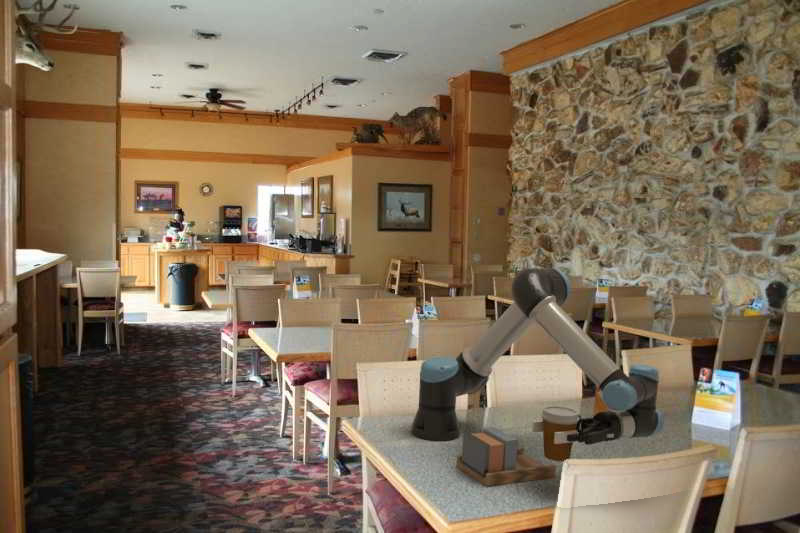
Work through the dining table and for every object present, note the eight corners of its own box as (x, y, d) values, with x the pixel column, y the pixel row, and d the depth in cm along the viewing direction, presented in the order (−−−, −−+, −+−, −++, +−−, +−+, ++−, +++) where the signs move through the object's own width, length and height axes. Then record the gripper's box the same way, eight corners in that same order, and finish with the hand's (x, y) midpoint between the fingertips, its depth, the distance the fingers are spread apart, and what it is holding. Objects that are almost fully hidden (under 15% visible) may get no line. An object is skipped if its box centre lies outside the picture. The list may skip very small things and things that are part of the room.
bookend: (465, 462, 181) (467, 431, 181) (487, 477, 171) (489, 444, 171) (460, 463, 181) (462, 432, 180) (482, 477, 171) (484, 445, 170)
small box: (592, 420, 235) (595, 383, 235) (597, 416, 241) (599, 380, 240) (616, 424, 231) (619, 387, 231) (620, 420, 237) (622, 384, 236)
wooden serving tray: (520, 457, 192) (521, 447, 192) (555, 476, 178) (555, 465, 178) (456, 465, 183) (457, 454, 183) (487, 486, 169) (488, 475, 169)
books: (491, 459, 185) (493, 427, 185) (515, 473, 175) (517, 439, 175) (466, 462, 181) (468, 429, 181) (488, 477, 172) (490, 442, 171)
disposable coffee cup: (569, 451, 175) (573, 406, 174) (580, 465, 165) (584, 417, 164) (533, 449, 174) (537, 404, 174) (542, 463, 165) (546, 415, 164)
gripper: (641, 452, 168) (570, 461, 158) (584, 427, 187) (517, 433, 177) (643, 423, 168) (573, 430, 158) (586, 400, 186) (520, 405, 176)
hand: (543, 432), depth 167 cm, fingers closed on disposable coffee cup, 8 cm apart
